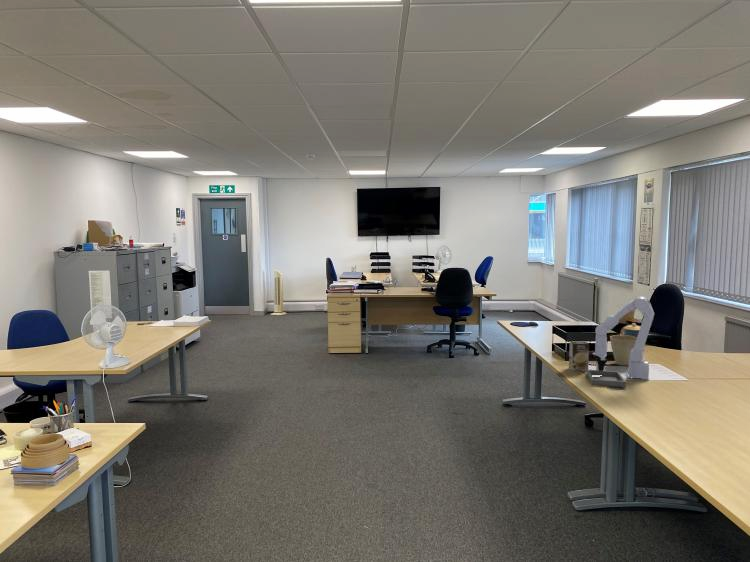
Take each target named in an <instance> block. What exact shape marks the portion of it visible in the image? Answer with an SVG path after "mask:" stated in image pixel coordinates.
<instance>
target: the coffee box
mask: <svg viewBox="0 0 750 562" xmlns="http://www.w3.org/2000/svg"><path fill="white" fill-rule="evenodd" d="M568 357H569V358H568V369H570V370H571V371H572V372H583V371H582V370H589V361H590V360H589V357H590V343H589V342H587V341H577V340H576V341H575V340H572V341H571V340H570V341H569V354H568Z"/></svg>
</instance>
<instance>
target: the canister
mask: <svg viewBox="0 0 750 562" xmlns="http://www.w3.org/2000/svg"><path fill="white" fill-rule="evenodd" d="M640 327H641V325H637V324H636V323H635V322H632V323H631V324H629V325H625V326H623V328H624V329H623V330H622V335H627V336H633V337H636V338H637V336H638V333H639V330H640ZM644 349H645V347H644V348H643V351H644Z"/></svg>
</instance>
